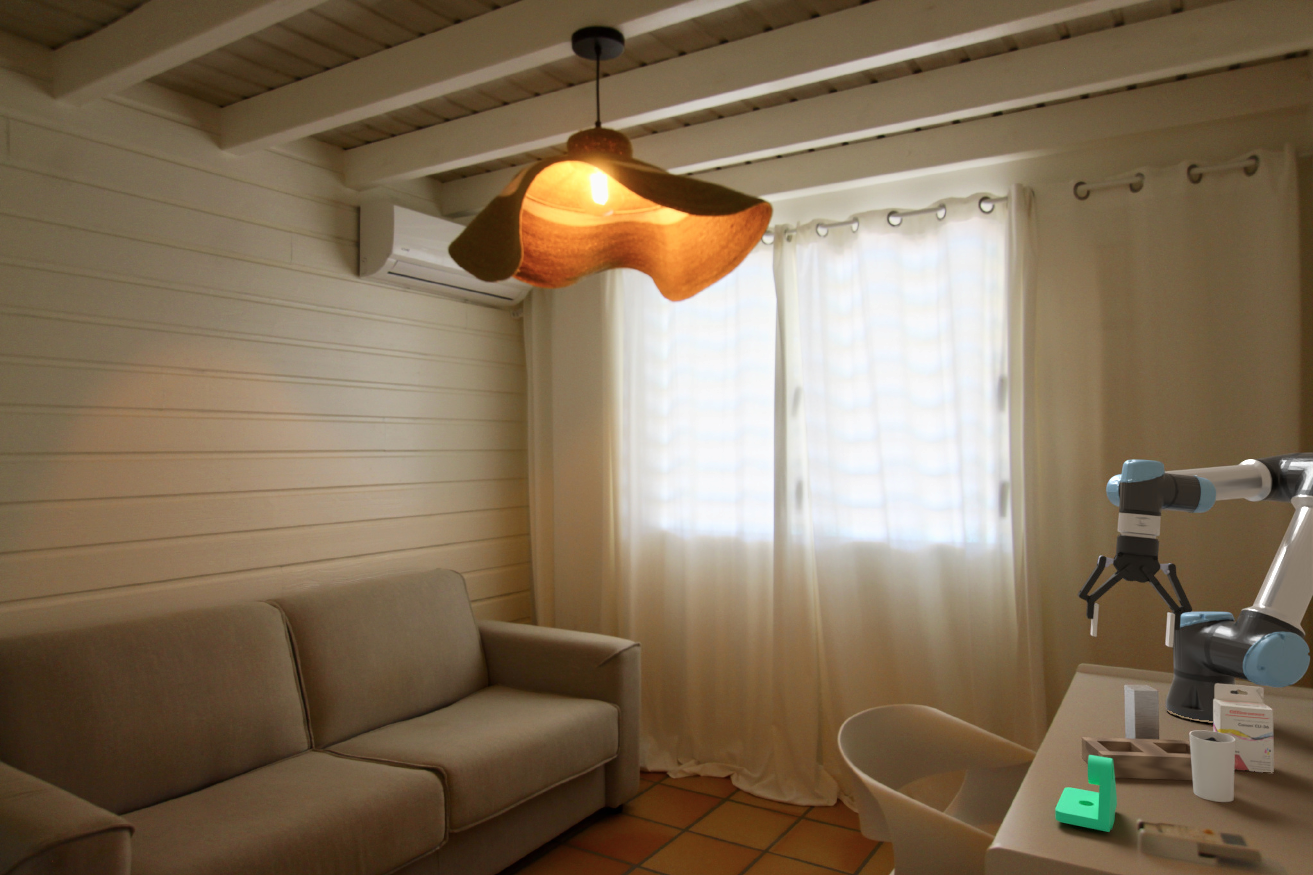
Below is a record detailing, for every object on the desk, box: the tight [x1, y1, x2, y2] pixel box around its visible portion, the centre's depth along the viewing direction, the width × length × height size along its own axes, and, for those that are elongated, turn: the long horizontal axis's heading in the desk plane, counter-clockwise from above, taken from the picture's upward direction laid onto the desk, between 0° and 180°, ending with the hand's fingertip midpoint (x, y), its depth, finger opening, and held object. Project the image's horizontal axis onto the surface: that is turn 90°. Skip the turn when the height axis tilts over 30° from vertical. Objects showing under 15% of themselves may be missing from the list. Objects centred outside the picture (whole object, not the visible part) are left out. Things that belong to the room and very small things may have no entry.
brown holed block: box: [1081, 736, 1193, 781], centre depth 159 cm, size 20×10×4 cm, turn 84°
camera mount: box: [1054, 755, 1118, 833], centre depth 137 cm, size 12×8×10 cm, turn 147°
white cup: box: [1188, 729, 1235, 803], centre depth 146 cm, size 7×7×10 cm
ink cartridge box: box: [1212, 683, 1275, 774], centre depth 160 cm, size 9×5×15 cm, turn 71°
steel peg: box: [1123, 684, 1160, 739], centre depth 170 cm, size 4×4×12 cm
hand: (1130, 640), depth 173 cm, fingers open, 13 cm apart
